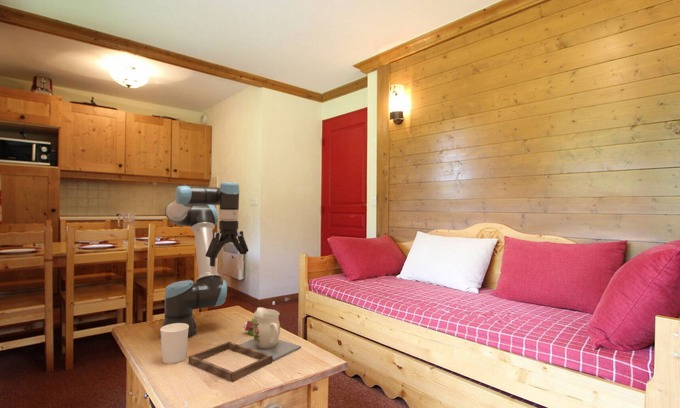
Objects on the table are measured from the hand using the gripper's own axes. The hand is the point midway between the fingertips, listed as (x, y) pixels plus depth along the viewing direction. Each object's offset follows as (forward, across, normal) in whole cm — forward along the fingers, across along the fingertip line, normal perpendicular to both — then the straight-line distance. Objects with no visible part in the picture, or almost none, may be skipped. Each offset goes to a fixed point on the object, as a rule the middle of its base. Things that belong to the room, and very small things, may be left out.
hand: (227, 271), depth 147 cm
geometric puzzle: (+32, +17, +2) cm, 36 cm away
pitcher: (+30, +8, -15) cm, 35 cm away
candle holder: (+31, -18, +7) cm, 37 cm away
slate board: (+31, +9, -15) cm, 35 cm away
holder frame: (+31, -9, -13) cm, 35 cm away
